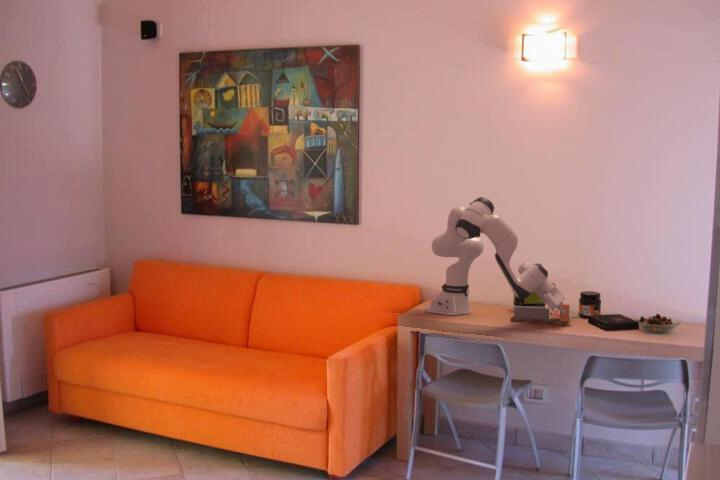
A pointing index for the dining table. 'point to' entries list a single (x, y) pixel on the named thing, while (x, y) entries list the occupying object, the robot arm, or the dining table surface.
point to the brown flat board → (540, 321)
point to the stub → (566, 315)
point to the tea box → (529, 301)
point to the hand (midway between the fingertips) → (565, 312)
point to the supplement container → (589, 304)
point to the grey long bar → (532, 312)
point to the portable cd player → (613, 322)
